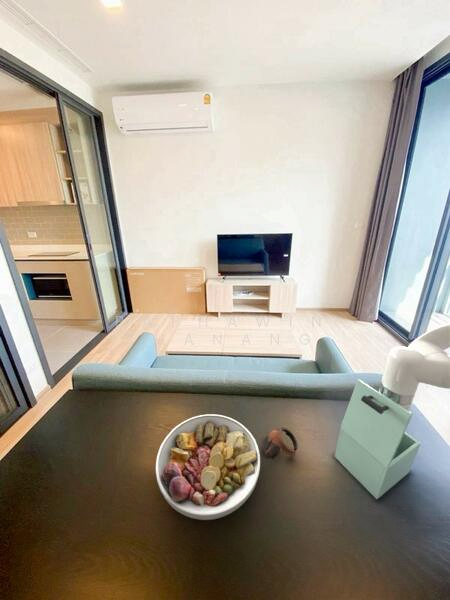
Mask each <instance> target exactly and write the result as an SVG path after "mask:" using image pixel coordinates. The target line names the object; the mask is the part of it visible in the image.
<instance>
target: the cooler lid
mask: <svg viewBox="0 0 450 600" xmlns="http://www.w3.org/2000/svg"><path fill="white" fill-rule="evenodd" d="M354 385H355V386H354V388H353V391H352V394H351V397H350V399H349V403H348V405H347V408H346V411H345V413H344V416H343V419H342V422H341V425H340V429H341V428H342V429H343V430H344V431H345V432H346V433H347V434H348V435H350V436H351V437H352V438H353V439H354V440H355V441H356V442H358V443H359V444H360V445H361V446H362V447H363V448H364V449H366V450H367V451H368V452H369V453H370V454H371V455H372V456H374V457H375V458H376V459H377V460H378V461H379V462H380V463H381V464H383V465H384V466H385V467H386V468H389V466H390V464H391V461H392V459H393V457H394V455H395V452H396V450H397V448H398V446H399V444H400V441H401V439H402V437H403V435H404V432H406V431H407V428H408V426H409V423H410V422H411V420H412V417H413V415H414V413H412V412H411V411H410V410H409V411H408V410H406V409H405V408H403V407H402V406H400V405H398V404H397V403H395V402H394V401H392V400H391V399H389V398H388V397H386V396H384V395H383V394H381V393H380V392H379V390H377V389H375V388H374V387H372V386H370V385H369V384H368V383H365V382H364V381H363V380H362V379H357V380H356V383H355V384H354Z"/></svg>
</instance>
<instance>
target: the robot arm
mask: <svg viewBox="0 0 450 600" xmlns="http://www.w3.org/2000/svg"><path fill="white" fill-rule="evenodd" d="M447 349H450V323H447V324H442V325H439V326H437V327H434V328H432V329H430V330H428V331H427V332H425V333H423V334H421V335H420V336H418V337H417V338H415V339H414V340H413V341H411V342H410V343H409V344H408V346H394V347H392V348H391V349H390V351H389V352H388V353H389V354H388V356H387V360H386V363H385V367H384V371H383V374H382V377H381V381H380V384H379V388H378V392H380V393H381V394H383V395H384V396H386V397H388V398H389V399H391V400H392V401H394V402H395V403H397V404H398V405H400V406H402V407H403V408H405V409H406V410H408V411H409V412H410V410H411V406H412V404H413V400H414V398H415V395H416V392H417V389H418V387H419V384H425V385H429V386H432V387H437V388H442V389H450V354H449V353H447V352H446V351H445V350H447Z"/></svg>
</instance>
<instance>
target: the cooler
mask: <svg viewBox="0 0 450 600" xmlns="http://www.w3.org/2000/svg"><path fill="white" fill-rule="evenodd" d="M421 444H422V443H421V442H420V441H418V440H417V439H416V438H414V437H413V436H411V435H410V434H409V433H407V432H406V431H405V432H404V435H403V437H402V439H401V441H400V444H399V446H398V448H397V450H396V452H395V455H394V457H393V459H392V461H391V464H390V466H389V468H386V467H385V466H384V465H383V464H381V463H380V462H379V461H378V460H377V459H376V458H375V457H374V456H372V455H371V454H370V453H369V452H368V451H367V450H366V449H364V448H363V447H362V446H361V445H360V444H359V443H358V442H356V441H355V440H354V439H353V438H352V437H351V436H350V435H348V434H347V433H346V432H345V431H344V430H343V429H342V428H340V431H339V436H338V440H337V444H336V447H335V452H334V458H335V459H337V461H338V462H339V463H340V464H342V466H343V467H344V468H345V469H346V470H347V471H348V472H349V473H350V474H351V475H352V476H353V477H354V478H355V479H356V480H357V481H358V482H359V483H360V485H362V486H363V488H365V489H366V490H367V491H368V492H369V493H370V494H371V495H372V496H373V498H374V499H376V500H378V499H379V498H380V497H382V496H383V495H384V494H385V493H386V492H388V491H389V490H390V489H391V488H393V487H394V486H395V485H396V484H397V483H398V482H400V481H401V480H402V479H403V478H405V476H407V475H408V474H409V473H410V472H411V469H412V467H413V464H414V462H415V459H416V457H417V454H418V452H419V449H420V447H421Z"/></svg>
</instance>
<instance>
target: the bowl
mask: <svg viewBox="0 0 450 600" xmlns="http://www.w3.org/2000/svg"><path fill="white" fill-rule="evenodd" d="M260 470H261V454H260V450H259V446H258V443H257V441H256V439H255V437H254V436H253V434H252V433H251V432H250V431H249V429H248V428H246V427H245V425H243V424H242V423H240V422H239V421H237V420H235V419H234V418H232V417H229V416H226V415H222V414H214V413H213V414H212V413H211V414H210V413H209V414H200V415H196V416H192V417H190V418H188V419H186V420H184V421H182V422H181V423H179V424H178V425H176V426H175V427H174V428H173V429H171V431H170V432H169V433H168V434H167V435H166V437H165V438H164V440H162V443H161V445H160V446H159V449H158V452H157V456H156V459H155V475H156V481H157V484H158V488H159V490H160V492H161V494H162V496H163V499H165V501H166V502H167V503H168V504H169V505H170V506H171V508H172V509H174V510H175V511H176V512H177V513H180V514H181V515H183V516H185V517H187V518H190V519H194V520H199V521H211V520H216V519H217V520H218V519H221V518H223V517H226V516H229V515H230V514H232V513H234V512H235V511H236V510H238V509H240V507H242V506H243V505H244V504H245V503H246V501H247V500H248V499H249V498H250V496H251V495H252V493H253V491H254V490H255V488H256V485H257V482H258V479H259V476H260Z"/></svg>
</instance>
